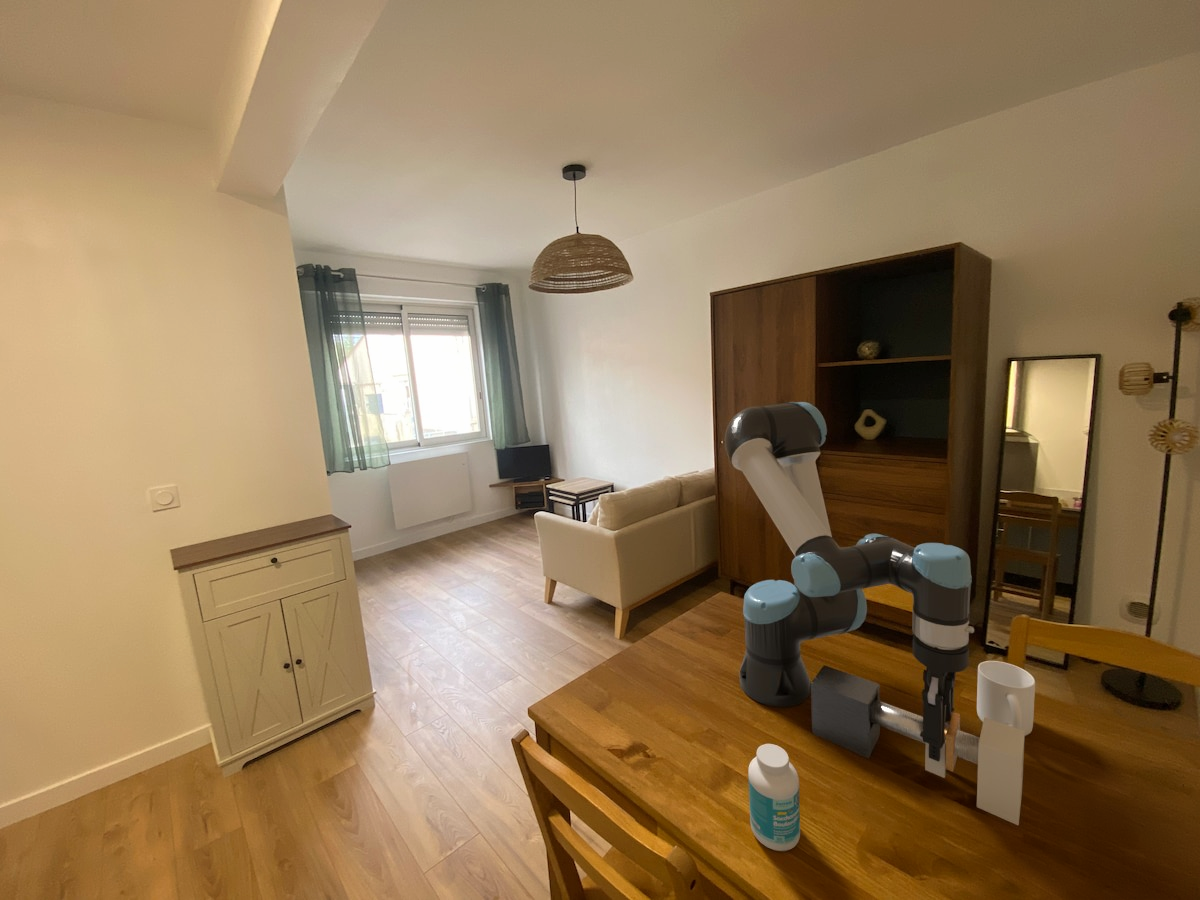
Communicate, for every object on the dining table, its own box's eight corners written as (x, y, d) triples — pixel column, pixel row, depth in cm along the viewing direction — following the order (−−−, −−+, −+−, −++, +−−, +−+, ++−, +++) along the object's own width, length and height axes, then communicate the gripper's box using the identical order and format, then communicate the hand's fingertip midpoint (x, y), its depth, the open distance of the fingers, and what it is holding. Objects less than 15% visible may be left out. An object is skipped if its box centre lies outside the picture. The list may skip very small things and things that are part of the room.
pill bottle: (780, 864, 70) (776, 784, 68) (740, 827, 76) (736, 752, 74) (811, 834, 74) (808, 757, 72) (770, 801, 80) (767, 729, 78)
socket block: (976, 806, 75) (978, 742, 74) (982, 778, 80) (984, 717, 79) (1018, 825, 72) (1021, 758, 70) (1021, 794, 77) (1024, 730, 75)
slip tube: (841, 725, 89) (840, 694, 88) (852, 706, 94) (851, 677, 93) (976, 781, 75) (977, 745, 74) (981, 756, 80) (982, 722, 79)
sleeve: (812, 733, 93) (810, 682, 92) (825, 713, 98) (823, 665, 96) (868, 758, 86) (868, 704, 85) (879, 735, 91) (879, 684, 89)
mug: (1046, 758, 83) (1049, 705, 81) (986, 745, 87) (988, 694, 85) (1024, 713, 93) (1027, 665, 92) (972, 703, 97) (973, 657, 96)
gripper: (959, 672, 69) (956, 811, 73) (976, 622, 81) (973, 743, 85) (900, 655, 75) (900, 784, 78) (924, 610, 86) (923, 725, 90)
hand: (938, 763), depth 81 cm, fingers closed on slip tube, 4 cm apart
